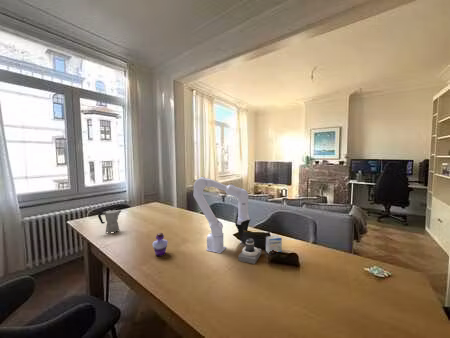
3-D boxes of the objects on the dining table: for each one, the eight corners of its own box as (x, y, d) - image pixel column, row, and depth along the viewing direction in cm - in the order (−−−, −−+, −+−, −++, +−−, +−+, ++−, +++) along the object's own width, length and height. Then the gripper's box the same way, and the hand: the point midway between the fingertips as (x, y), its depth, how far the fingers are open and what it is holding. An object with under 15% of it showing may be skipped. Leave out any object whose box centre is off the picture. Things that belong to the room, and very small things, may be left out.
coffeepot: (120, 227, 163) (119, 205, 161) (123, 231, 155) (122, 207, 154) (97, 232, 153) (96, 208, 152) (100, 236, 146) (98, 211, 144)
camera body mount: (238, 260, 110) (238, 253, 110) (246, 250, 122) (246, 243, 122) (255, 264, 107) (255, 256, 106) (261, 253, 118) (261, 246, 118)
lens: (250, 255, 111) (250, 242, 110) (244, 252, 114) (244, 239, 113) (255, 252, 114) (255, 239, 114) (248, 249, 117) (248, 237, 117)
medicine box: (269, 254, 117) (269, 239, 116) (265, 251, 121) (265, 236, 121) (281, 252, 119) (282, 237, 118) (277, 249, 123) (277, 234, 123)
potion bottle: (171, 251, 121) (170, 231, 121) (163, 258, 113) (162, 237, 112) (158, 250, 124) (157, 230, 123) (149, 256, 115) (148, 235, 115)
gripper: (245, 214, 114) (245, 238, 115) (253, 207, 127) (253, 229, 128) (233, 212, 117) (233, 236, 117) (242, 206, 130) (242, 228, 131)
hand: (243, 233), depth 123 cm, fingers open, 7 cm apart
